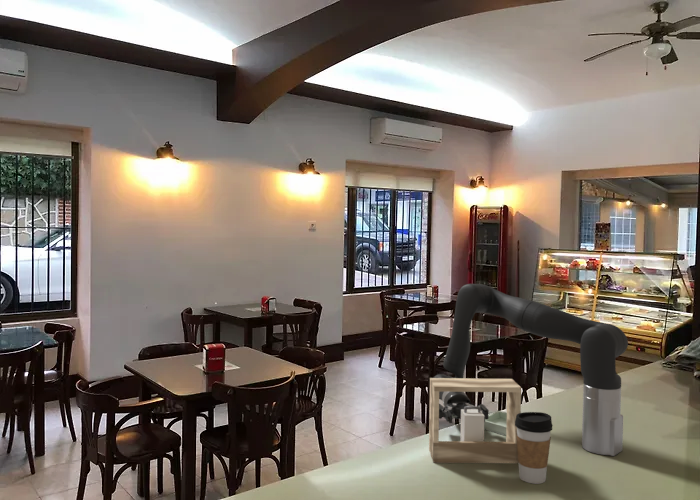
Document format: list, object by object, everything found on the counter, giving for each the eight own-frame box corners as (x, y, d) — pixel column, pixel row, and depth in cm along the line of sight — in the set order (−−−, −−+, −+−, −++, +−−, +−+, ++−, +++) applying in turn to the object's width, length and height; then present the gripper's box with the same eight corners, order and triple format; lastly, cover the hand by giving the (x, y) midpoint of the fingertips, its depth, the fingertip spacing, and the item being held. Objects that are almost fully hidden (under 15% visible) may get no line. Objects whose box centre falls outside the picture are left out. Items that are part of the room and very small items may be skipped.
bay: (429, 449, 150) (429, 378, 150) (510, 450, 150) (511, 378, 149) (433, 462, 142) (434, 386, 141) (519, 463, 142) (521, 387, 141)
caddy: (460, 450, 150) (461, 403, 150) (479, 450, 150) (479, 403, 150) (464, 457, 145) (464, 409, 145) (483, 458, 145) (484, 409, 145)
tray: (533, 428, 167) (533, 419, 167) (513, 438, 159) (513, 429, 159) (498, 418, 176) (498, 410, 176) (477, 427, 167) (477, 419, 167)
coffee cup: (553, 487, 129) (555, 422, 128) (515, 484, 130) (516, 419, 130) (548, 472, 137) (550, 411, 136) (512, 469, 138) (513, 408, 138)
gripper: (432, 389, 171) (440, 406, 155) (479, 389, 171) (493, 406, 155) (432, 414, 171) (440, 433, 155) (479, 414, 171) (492, 433, 155)
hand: (466, 419), depth 155 cm, fingers open, 8 cm apart
